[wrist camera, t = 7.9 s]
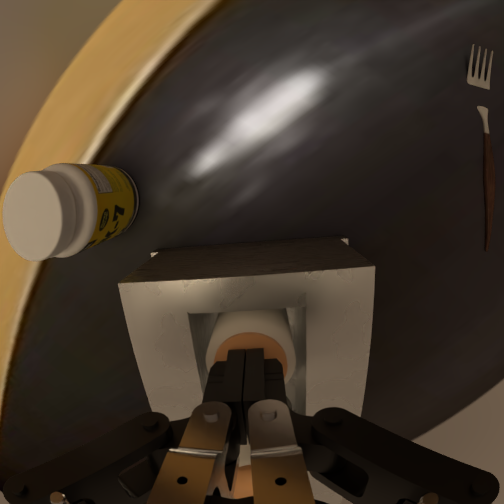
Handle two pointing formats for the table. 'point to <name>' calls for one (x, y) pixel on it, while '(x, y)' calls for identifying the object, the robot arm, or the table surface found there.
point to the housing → (247, 299)
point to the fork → (485, 144)
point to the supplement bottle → (67, 209)
